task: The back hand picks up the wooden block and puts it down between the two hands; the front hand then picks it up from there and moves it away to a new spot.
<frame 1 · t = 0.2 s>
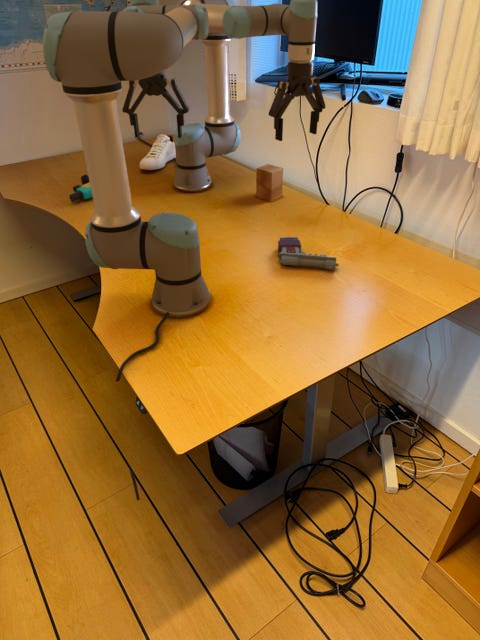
front hand: (158, 136, 149), 29 cm above the table, tool pointing down, fingers open, 13 cm apart
back hand: (296, 136, 151), 28 cm above the table, tool pointing down, fingers open, 13 cm apart
block: (269, 196, 185), on the table
toy gun: (306, 259, 144), on the table
sneaker: (158, 164, 218), on the table
toy gun 2: (88, 193, 190), on the table
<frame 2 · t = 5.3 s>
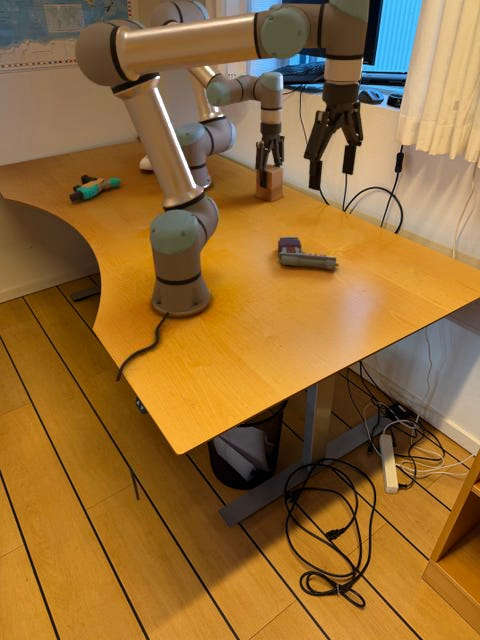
front hand: (331, 181, 111), 31 cm above the table, tool pointing down, fingers open, 13 cm apart
back hand: (269, 184, 182), 5 cm above the table, tool pointing down, fingers closed on block, 7 cm apart
block: (269, 196, 185), on the table, touching back hand
everything else where it was.
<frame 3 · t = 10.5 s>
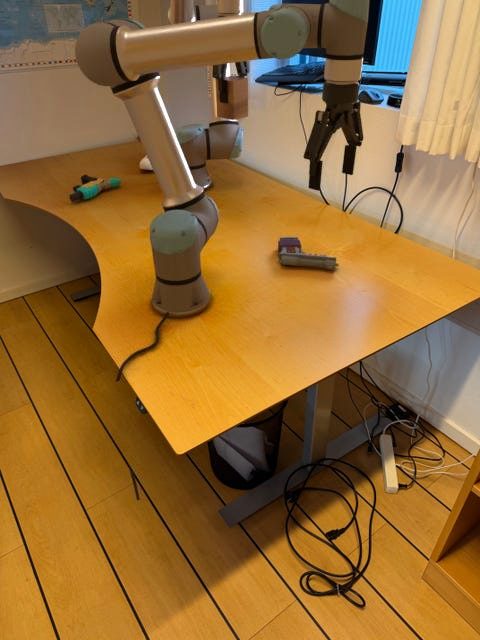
front hand: (331, 181, 111), 31 cm above the table, tool pointing down, fingers open, 13 cm apart
back hand: (231, 100, 151), 38 cm above the table, tool pointing down, fingers closed on block, 7 cm apart
block: (232, 116, 153), point 33 cm above the table, touching back hand
everything else where it was.
when the back hand's fingers open (6 cm above the table, at t = 15.5 s): block drops 2 cm, on the table.
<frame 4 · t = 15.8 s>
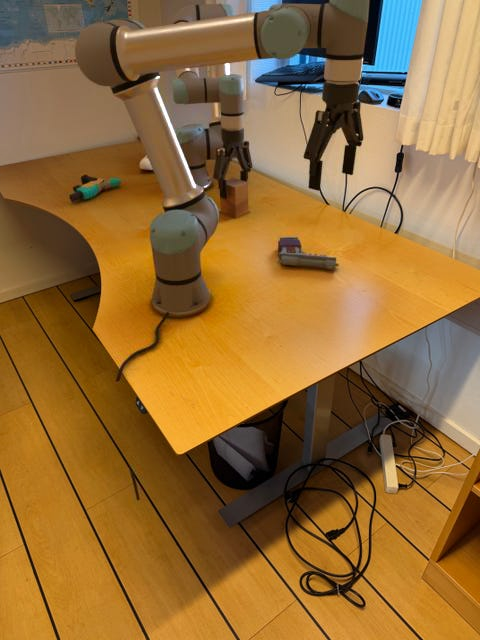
front hand: (331, 181, 111), 31 cm above the table, tool pointing down, fingers open, 13 cm apart
back hand: (233, 193, 169), 7 cm above the table, tool pointing down, fingers open, 10 cm apart
block: (234, 212, 173), on the table
everything else where it was.
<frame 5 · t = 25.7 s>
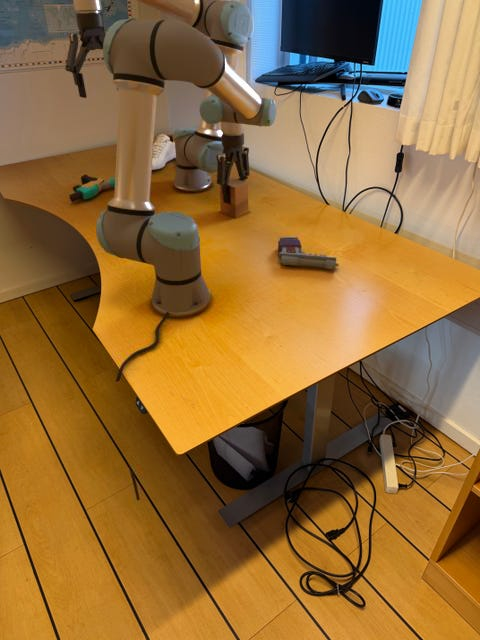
front hand: (234, 199, 170), 5 cm above the table, tool pointing down, fingers closed on block, 7 cm apart
back hand: (102, 93, 147), 41 cm above the table, tool pointing down, fingers open, 13 cm apart
block: (234, 212, 173), on the table, touching front hand
everything else where it was.
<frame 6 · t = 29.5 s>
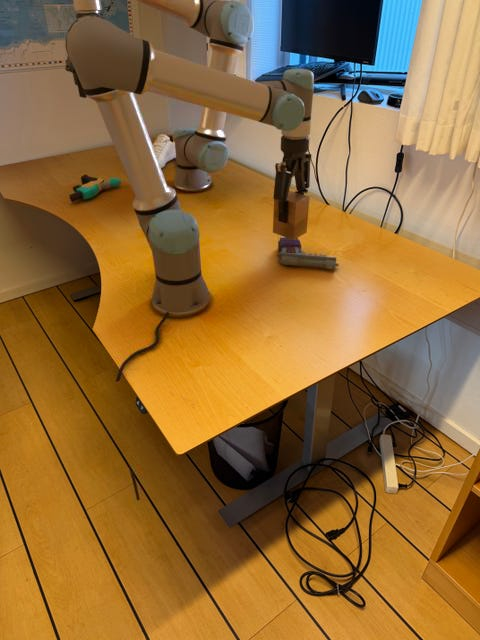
front hand: (290, 217, 138), 13 cm above the table, tool pointing down, fingers closed on block, 7 cm apart
back hand: (102, 93, 147), 41 cm above the table, tool pointing down, fingers open, 13 cm apart
block: (289, 232, 141), point 8 cm above the table, touching front hand
everything else where it was.
when the front hand's fingers open (6 cm above the table, at t = 33.3 s): block drops 2 cm, on the table.
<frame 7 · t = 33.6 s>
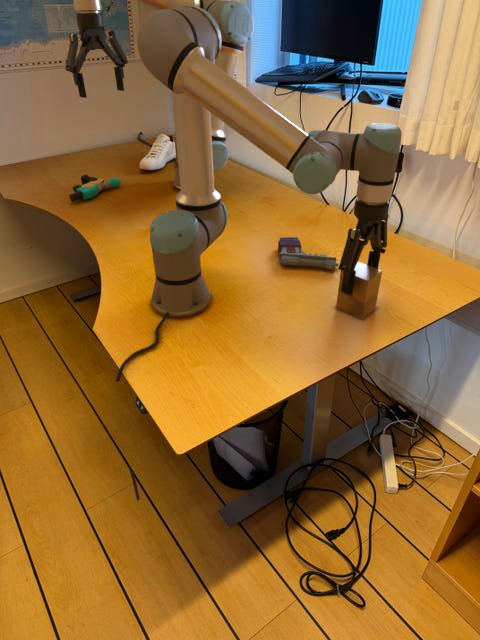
front hand: (359, 283, 118), 7 cm above the table, tool pointing down, fingers open, 10 cm apart
back hand: (102, 93, 147), 41 cm above the table, tool pointing down, fingers open, 13 cm apart
block: (355, 308, 122), on the table
everything else where it was.
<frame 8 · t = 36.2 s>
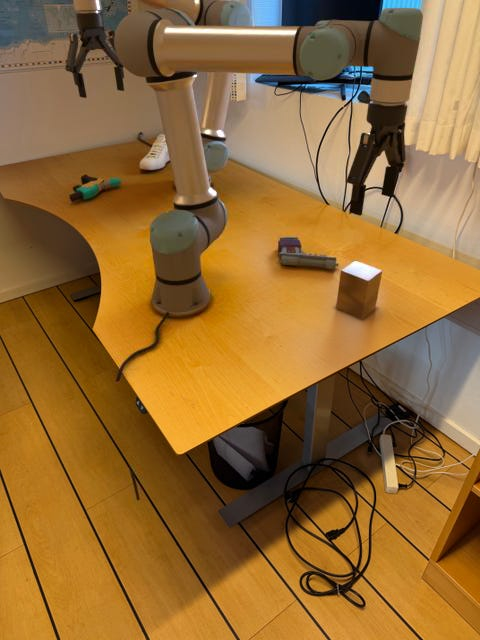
front hand: (371, 204, 106), 28 cm above the table, tool pointing down, fingers open, 13 cm apart
back hand: (102, 93, 147), 41 cm above the table, tool pointing down, fingers open, 13 cm apart
nothing on the table moved.
at the end: block inside the target area (0.1 cm from its centre), on the table; block tilted 0°; the two hands never held the block at the same time; the front hand is holding nothing; the back hand is holding nothing; block at rest at the end (0.0 cm/s) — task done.
